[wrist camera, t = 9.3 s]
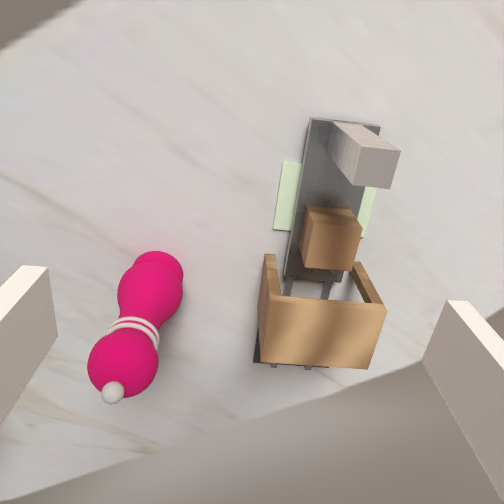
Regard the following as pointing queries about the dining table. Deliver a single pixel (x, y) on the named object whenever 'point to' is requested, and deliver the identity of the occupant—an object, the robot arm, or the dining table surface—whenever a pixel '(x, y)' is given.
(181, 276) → the pepper mill
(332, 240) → the block
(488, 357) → the robot arm
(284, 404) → the dining table surface
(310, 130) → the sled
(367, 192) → the pad
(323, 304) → the tunnel
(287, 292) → the rails
